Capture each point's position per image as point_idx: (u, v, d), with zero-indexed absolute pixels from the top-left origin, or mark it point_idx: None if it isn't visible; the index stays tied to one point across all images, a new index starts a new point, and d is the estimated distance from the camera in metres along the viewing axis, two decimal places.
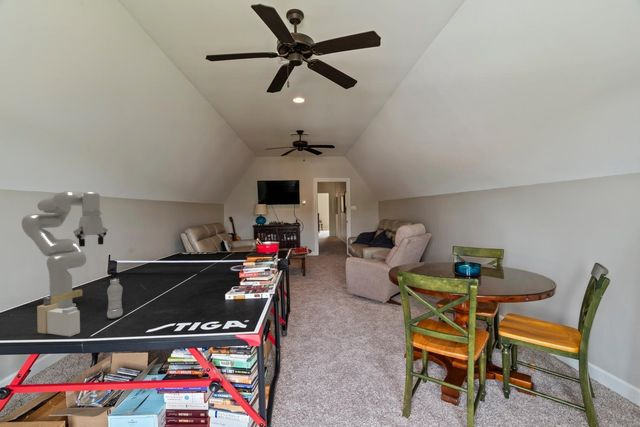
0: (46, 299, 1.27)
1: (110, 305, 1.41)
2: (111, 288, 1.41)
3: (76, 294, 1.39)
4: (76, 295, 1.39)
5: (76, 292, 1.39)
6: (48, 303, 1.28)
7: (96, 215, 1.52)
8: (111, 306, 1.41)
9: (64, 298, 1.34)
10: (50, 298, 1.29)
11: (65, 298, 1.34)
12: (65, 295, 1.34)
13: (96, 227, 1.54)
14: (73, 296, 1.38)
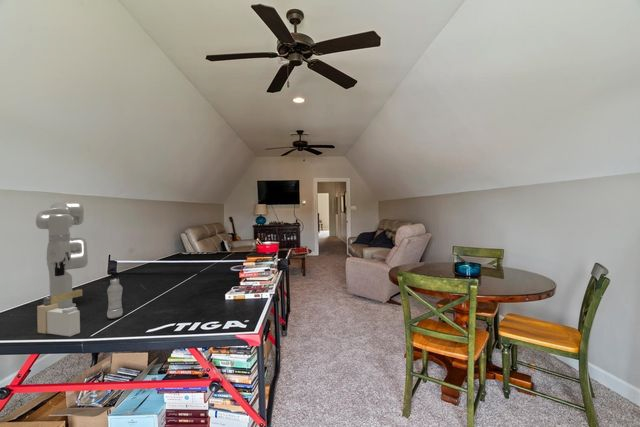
0: (46, 299, 1.27)
1: (110, 305, 1.41)
2: (111, 288, 1.41)
3: (76, 294, 1.39)
4: (76, 295, 1.39)
5: (76, 292, 1.39)
6: (48, 303, 1.28)
7: None
8: (111, 306, 1.41)
9: (64, 298, 1.34)
10: (50, 298, 1.29)
11: (65, 298, 1.34)
12: (65, 295, 1.34)
13: None
14: (73, 296, 1.38)
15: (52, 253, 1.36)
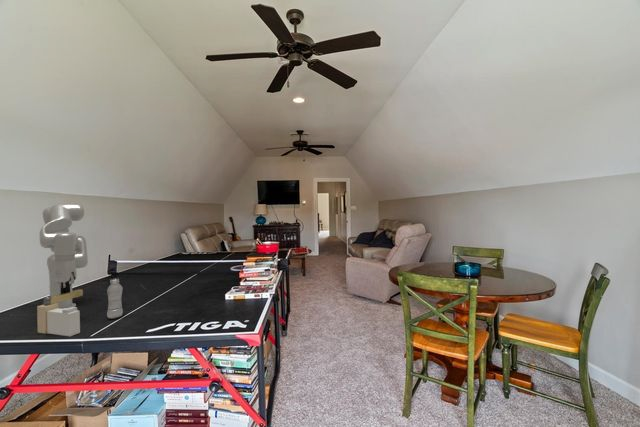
0: (46, 299, 1.27)
1: (110, 305, 1.41)
2: (111, 288, 1.41)
3: (76, 294, 1.39)
4: (76, 295, 1.39)
5: (76, 292, 1.39)
6: (48, 303, 1.28)
7: None
8: (111, 306, 1.41)
9: (64, 298, 1.34)
10: (50, 298, 1.28)
11: (65, 298, 1.34)
12: (65, 295, 1.34)
13: None
14: (73, 296, 1.38)
15: (58, 273, 1.35)
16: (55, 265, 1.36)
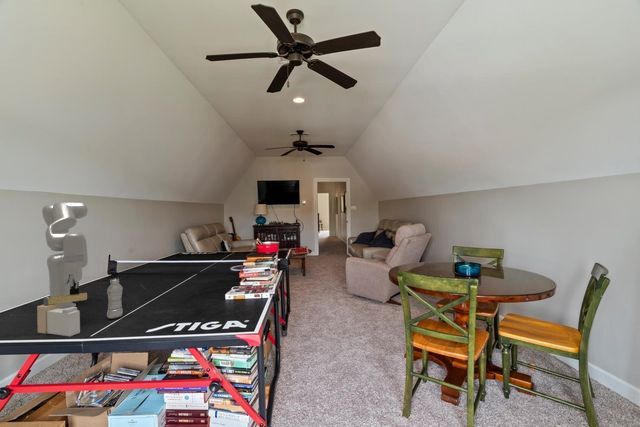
0: (44, 299, 1.27)
1: (110, 305, 1.41)
2: (111, 288, 1.41)
3: (78, 298, 1.33)
4: (78, 299, 1.33)
5: (78, 296, 1.33)
6: (45, 303, 1.27)
7: (83, 259, 1.37)
8: (111, 306, 1.41)
9: (63, 300, 1.30)
10: (47, 299, 1.28)
11: (65, 300, 1.31)
12: (65, 297, 1.31)
13: (81, 272, 1.37)
14: (74, 299, 1.32)
15: None
16: None
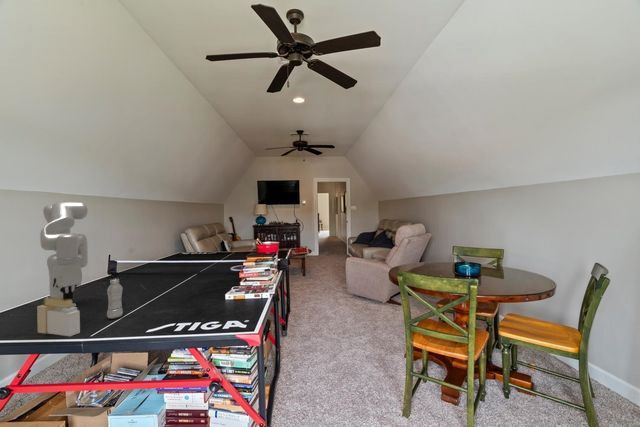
0: None
1: (110, 305, 1.41)
2: (111, 288, 1.41)
3: (61, 304, 1.24)
4: (61, 305, 1.24)
5: (61, 301, 1.24)
6: None
7: (73, 262, 1.28)
8: (111, 306, 1.41)
9: (53, 304, 1.26)
10: (44, 299, 1.27)
11: (53, 304, 1.25)
12: (53, 301, 1.25)
13: (73, 276, 1.29)
14: (59, 305, 1.24)
15: None
16: None
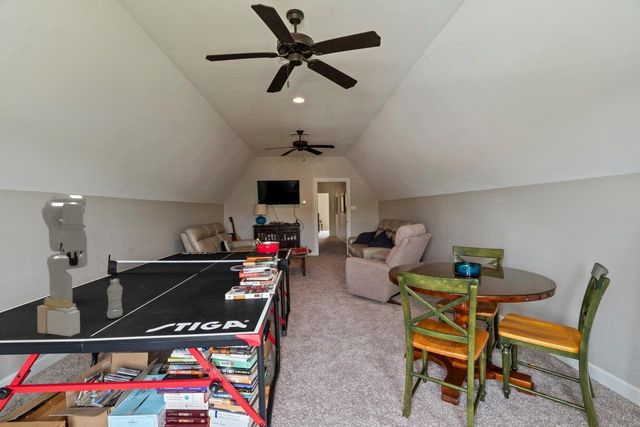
0: None
1: (110, 305, 1.41)
2: (111, 288, 1.41)
3: (61, 304, 1.24)
4: (61, 305, 1.24)
5: (61, 301, 1.24)
6: None
7: (79, 229, 1.33)
8: (111, 306, 1.41)
9: (53, 304, 1.26)
10: (44, 299, 1.27)
11: (54, 304, 1.26)
12: (54, 301, 1.25)
13: (79, 242, 1.35)
14: (59, 305, 1.25)
15: None
16: None
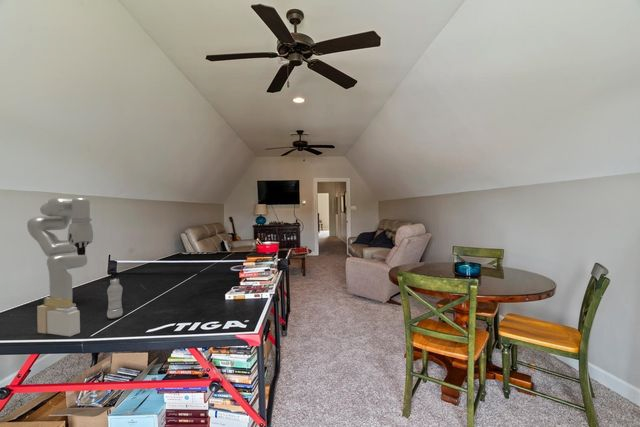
0: None
1: (110, 305, 1.41)
2: (111, 288, 1.41)
3: (61, 304, 1.24)
4: (61, 305, 1.24)
5: (61, 301, 1.24)
6: None
7: (86, 222, 1.49)
8: (111, 306, 1.41)
9: (53, 304, 1.26)
10: (44, 299, 1.27)
11: (54, 304, 1.26)
12: (54, 301, 1.25)
13: (86, 234, 1.50)
14: (59, 305, 1.25)
15: None
16: None
